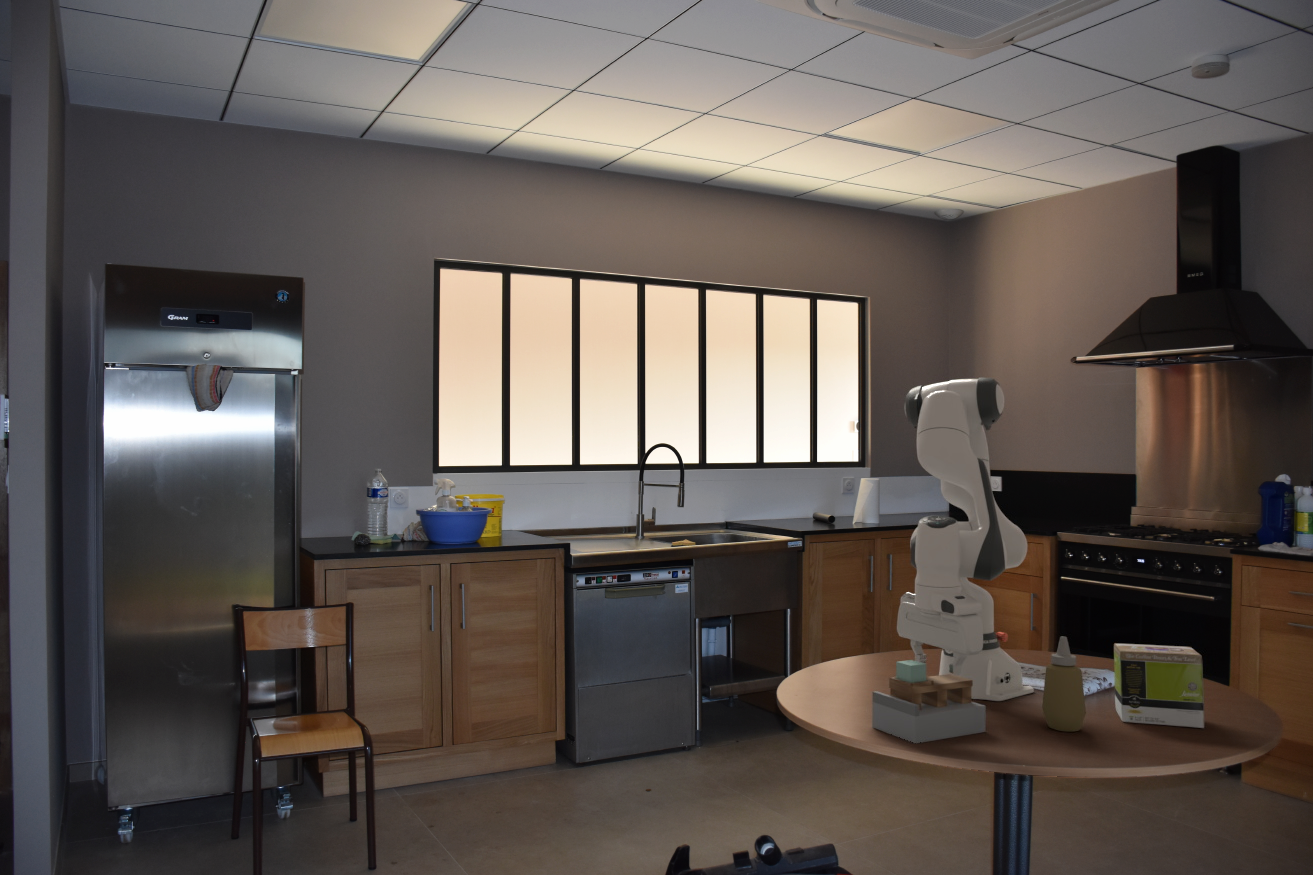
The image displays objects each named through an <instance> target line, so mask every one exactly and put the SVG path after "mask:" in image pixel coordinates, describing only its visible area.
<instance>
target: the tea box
mask: <svg viewBox="0 0 1313 875" xmlns="http://www.w3.org/2000/svg"><path fill="white" fill-rule="evenodd" d="M1202 656H1203V655H1201V654H1200V653H1199V652H1197V651H1196V650H1195V649H1194V648H1192V646H1182V645H1181V646H1180V645H1179V646H1177V645H1176V646H1175V645H1161V644H1160V645H1156V644H1135V643H1116V642H1115V643H1114V644H1113V662H1114V664H1113V667H1114V704H1115V711H1116V712H1117V715H1118V716H1119V718H1120V720H1121V721H1122V722H1123V723H1136V724H1147V725H1161V726H1162V725H1163V726H1175V727H1185V728H1186V727H1187V728H1196V729H1197V728H1200V729H1205V707H1204V704H1205V703H1204V677H1203V676H1204V674H1203V672H1204V671H1203V670H1204V668H1203V657H1202Z"/></svg>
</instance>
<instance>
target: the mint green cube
mask: <svg viewBox="0 0 1313 875" xmlns="http://www.w3.org/2000/svg"><path fill="white" fill-rule="evenodd" d="M895 664H896V665H895V673H896V674H895V675H896V676H895V677H896V679H899V680H902V681H906V682H909V683H915V682H923V681H926V677H927V663H922V662H918V661H915V659H914V660H913V659H909V660H900V661H896V662H895Z"/></svg>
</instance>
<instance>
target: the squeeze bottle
mask: <svg viewBox="0 0 1313 875" xmlns="http://www.w3.org/2000/svg"><path fill="white" fill-rule="evenodd" d="M1050 662H1051V663H1050V664H1048V665H1046V667H1045V676H1044V685H1043V696H1042V703H1041V708H1042V711H1043V715H1044V717H1045V721H1046V724H1047V726H1048V728H1050V729H1053V730H1056V731H1061V732H1078V731H1080V730H1081V728H1082V725H1083V722H1084V720H1085V717H1086V715H1087V711H1086V700H1085V699H1086V698H1085V691H1084V684H1083V673H1082V669H1081V668H1080V667H1078V666H1077V656H1076V655H1074V654H1071V651H1070V646H1069V641H1068V637H1067V636H1059V641H1058V646H1057V650H1056V653H1055V652H1054V653H1051V654H1050Z"/></svg>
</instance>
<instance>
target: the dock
mask: <svg viewBox="0 0 1313 875" xmlns="http://www.w3.org/2000/svg"><path fill="white" fill-rule="evenodd" d="M871 695H872V703H871V704H872V710H871V712H872V717H871V718H872V719H871V720H872V721H871V722H872V728H874V729H876V730H879V731H880V732H881V731H882V732H884V733H887V734H889V735H891V734H892V735H891V736H894V737H897V738H899V737H900V739H902V740H904V739H905V741H907V740H908V741H907V742H910V741H911V742H910V743H912V742H913V744H915V743H916V744H920V742H921V743H926V742H927V743H928V742H933V741H937V740H945V739H951V738H956V737H963V736H967V735H973V734H981V733H985V732H987V730H986V728H987V727H986V714H987V713H986V711H987V710H986V705H985V704H981V703H977V702H975V701H971V703H966V704H961V703H958V702H955V701H951V700H948V699H947V706H945V707H938V708H937V707H934V706H931V705H928V704H925V703H922V702H921V710H919V705H917V704H914V703H911V702H908V701H905V700H902V699H899V698H896V697H893V696H890V694H886V693H883V692H880V691H878V690H876V691H875V690H874V691H872V694H871Z"/></svg>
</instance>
